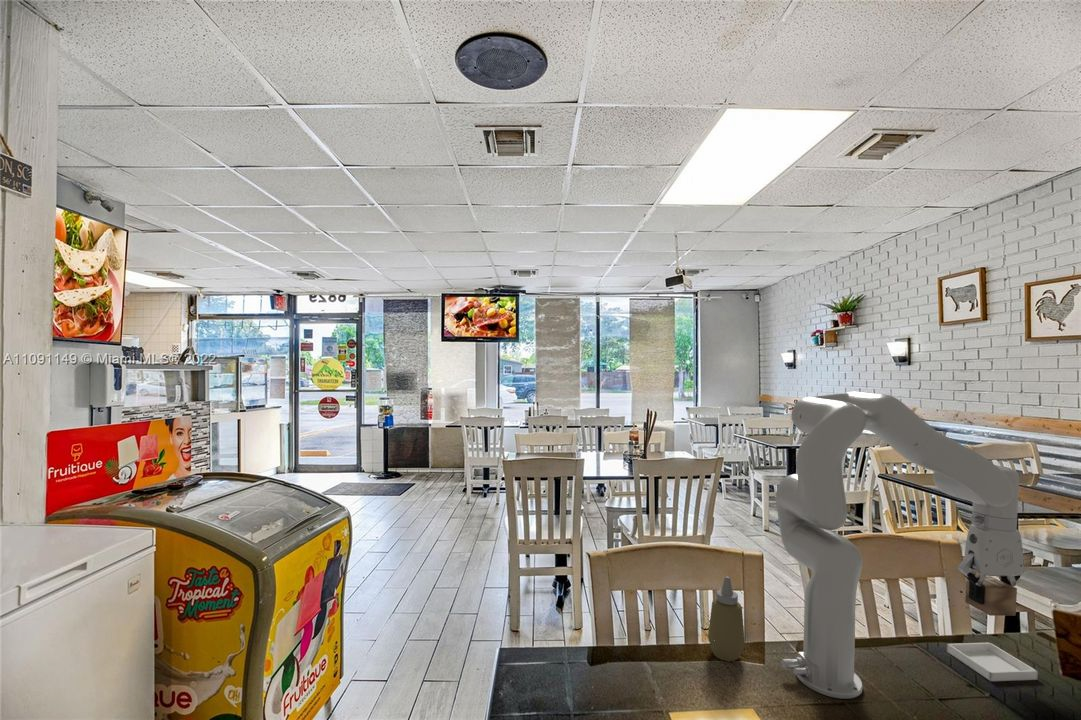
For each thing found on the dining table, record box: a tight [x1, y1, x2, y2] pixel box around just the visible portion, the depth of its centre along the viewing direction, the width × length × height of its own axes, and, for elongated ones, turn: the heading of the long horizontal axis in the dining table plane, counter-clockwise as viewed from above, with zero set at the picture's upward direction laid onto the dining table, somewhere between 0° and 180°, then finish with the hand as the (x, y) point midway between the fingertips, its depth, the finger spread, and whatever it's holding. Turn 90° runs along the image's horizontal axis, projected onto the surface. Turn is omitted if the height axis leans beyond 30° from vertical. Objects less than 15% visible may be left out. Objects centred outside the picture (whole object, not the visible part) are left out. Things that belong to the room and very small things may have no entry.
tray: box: [946, 642, 1039, 682], centre depth 115 cm, size 11×11×2 cm
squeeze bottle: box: [707, 576, 746, 662], centre depth 118 cm, size 8×8×18 cm
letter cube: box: [964, 575, 1018, 617], centre depth 114 cm, size 6×6×6 cm
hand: (990, 600), depth 114 cm, fingers closed on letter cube, 6 cm apart
